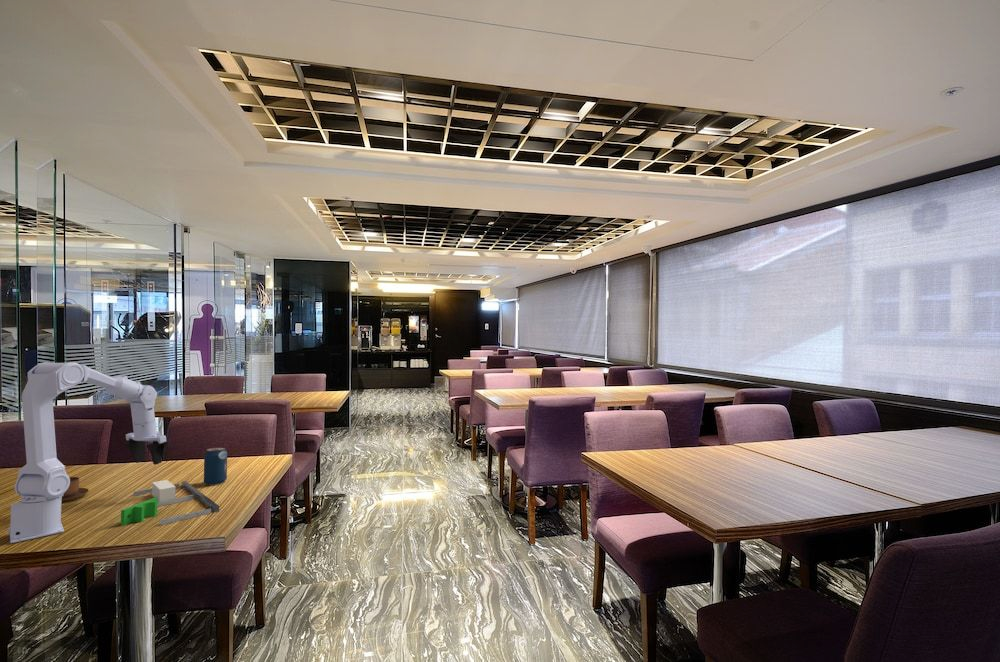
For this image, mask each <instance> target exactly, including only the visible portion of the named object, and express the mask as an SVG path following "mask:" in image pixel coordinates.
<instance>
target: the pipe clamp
mask: <svg viewBox="0 0 1000 662" xmlns="http://www.w3.org/2000/svg"><path fill="white" fill-rule="evenodd" d="M158 502H159V501H158V498H155V497H152V498H150V499H147V500H144V501H142V502H139V503H137V504H135V505H131V506H129V507H126V508H124V509H123V508H122V509H121V510H120V526H122V525H124V526H126V524H127V525H129V524H132V523H134V522H135V523H142V522H144V521H145V519H146V517H147V518H151V516H152V517H157V516H156V515H157V513H158V509H159V508H158ZM131 522H132V523H131Z"/></svg>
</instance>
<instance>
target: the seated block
mask: <svg viewBox="0 0 1000 662" xmlns="http://www.w3.org/2000/svg"><path fill="white" fill-rule="evenodd" d="M173 484H174V483H172V482H171V481H170V480H168V479H164V480H159V481H153V482H151V488H152V493H151V495H152V496H153V498H158V502H160V501H165V500H170V499H175V498H176V489H177V488H176V487H175V486H174V485H173Z"/></svg>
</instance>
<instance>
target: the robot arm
mask: <svg viewBox="0 0 1000 662" xmlns="http://www.w3.org/2000/svg"><path fill="white" fill-rule="evenodd" d="M128 378H129V377H128V376H126V375H116V376H114V377H112V376H110V375H107V374H104V373H103V372H99V371H98V370H95V369H93V368H90V367H88V366H87V365H85V364H79V363H77V362H73V361H72V362H71V361H70V362H48V361H46V362H45V361H44V362H40V363H38V364H36V365H35V366H33V367H32V368H31V369H30V370H29V371H28V372H27V382H26V384H25V387H24V388H23V391H22V394H21V404H22V405H21V406H22V417H23V418H22V419H23V431H24V433H23V434H24V445H25V447H24V448H25V457H26V463H25V465H23V466H22V467H21V468H19V469H17V474H18V475H17V479H16V482H15V484H14V491H15V493H16V494H17V495H18V496H20V500H21V501H18V502H14V503H11V505H10V525H9V526H8V527H7V528H8V529H7V531H8V532H7V535H9V543H10V544H14V543H19V542H23V541H24V542H25V541H28V540H33V539H37V538H42V537H46V536H51V535H52V536H53V535H54V534H55V535H56V534H61V533H63V532H65V529H64V526H63V524H62V523H63V522H61V521H62V502H61V500H62V496H63V494H64V493H65V492H66V490H67V489H68V487H69V485H70V478H69V477H70V476H69V474H68V473H67V471H66V466H65V465H64V464H63V463H62V462H61V461H60V460H59V459H58V456H57V445H56V444H57V443H56V442H57V440H56V429H55V415H54V399H56V397H58V396H59V395H60V394H62V393H64V392H65V391H68V390H70V389H71V388H73V387H75V386H77V385H79V384H80V383H86V384H89V385H90V384H91V385H94V386H98V387H101V388H104V389H105V392H106V393H107V394H108V395H112V396H115V397H118V398H120V399H123V400H124V401H125V403H129V404H130V411H131V418H132V419H131V421H132V429H133V432H129V433H127V434H126V433H125V439H126V441H127V442H126V443H124V446H125V448H127V449H128V450H129V453H131V455H132V457H133V459H134V462H135V463H136V464H138V463H140V462H144V461H145V446H146V448H147V449H148V451H149V452H150V456H151V460H152V464H153V465H154V466H155V465H159V464H161V463H162V461H163V456H164V453H165V449H166V448H167V446H168V444H169V440H167V436H166V435H164V434H161V433H160V430H157V425H156V417H155V416H156V415H155V405H156V403H155V402H156V399H157V397H158V391H156V389H155V387H153V386H152V385H148V384H145V385H144V384H142V383H141V381H139V380H138V381H135V380H132V379H128ZM146 442H149V443H148V444H146ZM151 442H152V443H151ZM145 444H146V445H145Z"/></svg>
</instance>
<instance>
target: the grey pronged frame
mask: <svg viewBox="0 0 1000 662" xmlns="http://www.w3.org/2000/svg"><path fill="white" fill-rule="evenodd" d="M172 484H173V485H174V486H175V487H176V489H177V488H180V484H181V487H182V489H184V490H185V491H187V492H188V493H189V495H185V496H180V497H175V499H170V500H165V501H160V502H159V501H158V507H162V506H163V507H164V506H167V505H172V504H178V503H183V502H186V501H192V500H194V499H195V498H196V499H197V501H199V502H201V503H202V504H203V505H205V506H206V507H207V508H206V509H201V510H198V511H197V510H196V511H193V512H189V513H183V514H180V515H175V516H171V517H170V516H169V517H166V518H163V519H159V526H163V525H167V524H171V523H174V522H175V523H176V522H179V521H183V520H184V521H185V520H188V519H192V518H196V517H201V516H205V515H208V514H209V515H210V514H211V513H212V512H213V513H217V512H220V505H219V504H217V503H216V502H215V501H213V500H212V499H211V498H209V497H208V496H206V495H205V494H204V493H202V492H201V491H200V490H198V489H197V488H196V487H195V486H193V485H192V484H190V483H189V482H188V481H186V480H185V481H181V483H178V482H177V483H172ZM146 494H152V487H151V488H145V489H141V490H139V489H138V490H135V491H133V496H140V495H146Z"/></svg>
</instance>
